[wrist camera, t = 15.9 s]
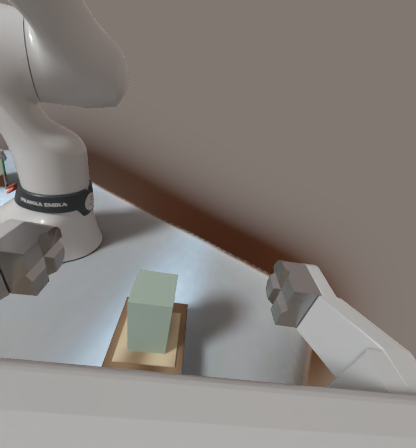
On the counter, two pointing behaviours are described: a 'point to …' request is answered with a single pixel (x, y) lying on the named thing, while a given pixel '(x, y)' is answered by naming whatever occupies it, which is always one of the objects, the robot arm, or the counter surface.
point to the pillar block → (150, 311)
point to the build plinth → (144, 360)
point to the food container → (3, 171)
